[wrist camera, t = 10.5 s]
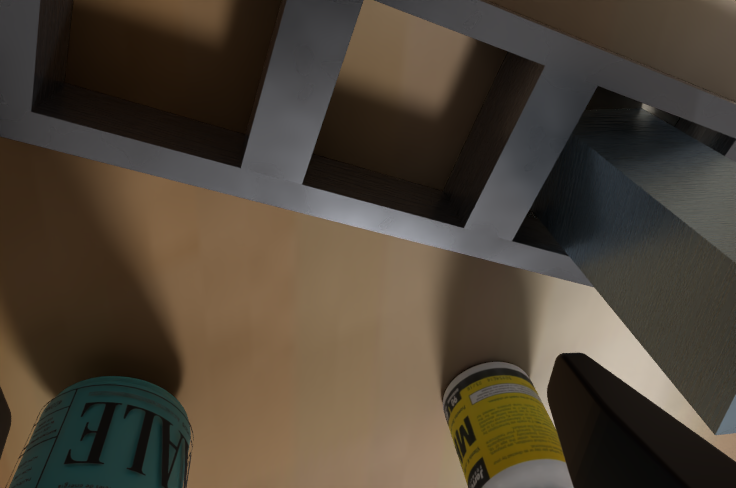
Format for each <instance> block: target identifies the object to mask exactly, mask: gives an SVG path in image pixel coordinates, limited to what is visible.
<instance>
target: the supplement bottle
mask: <svg viewBox="0 0 736 488" xmlns="http://www.w3.org/2000/svg"><path fill="white" fill-rule="evenodd" d="M443 410H444V413H445V417H446V420H447V423H448V426H449V429H450V432H451V435H452V439H453V442H454V445H455V448H456V451H457V454H458V457H459V461H460V463H461V467H462V469H463V473H464V476H465V479H466V482H467V485H468V488H574V487H573V484H572V481H571V478H570V475H569V472H568V468H567V465H566V462H565V458H564V455H563V451H562V448H561V444H560V441H559V437H558V434H557V431H556V429H555V427H554V425H553V423H552V421H551V419H550V417H549V415H548V413H547V411H546V409H545V407H544V405H543V403H542V401H541V399H540V397H539V395H538V393H537V391H536V390H535V388H534V386H533V384H532V382H531V380H530V378H529V377H528V375H527V374H526V373H525V372H524V371H523V370H522V369H521V368H519V367H518V366H515V365H513V364H510V363H505V362H489V363H484V364H480V365H477V366H474V367H472V368H470V369H468V370H466V371H464V372H462V373H461V374H460V375H458V376H457V377H456V378H455V379H454V380H453V381H452V382H451V383H450V384H449V386H448V387H447V389H446V391H445V394H444V397H443Z"/></svg>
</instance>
